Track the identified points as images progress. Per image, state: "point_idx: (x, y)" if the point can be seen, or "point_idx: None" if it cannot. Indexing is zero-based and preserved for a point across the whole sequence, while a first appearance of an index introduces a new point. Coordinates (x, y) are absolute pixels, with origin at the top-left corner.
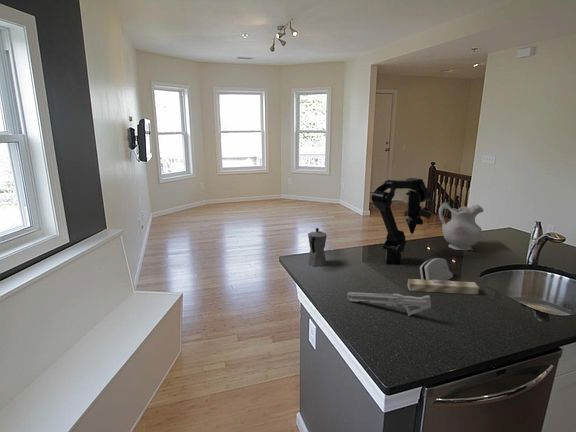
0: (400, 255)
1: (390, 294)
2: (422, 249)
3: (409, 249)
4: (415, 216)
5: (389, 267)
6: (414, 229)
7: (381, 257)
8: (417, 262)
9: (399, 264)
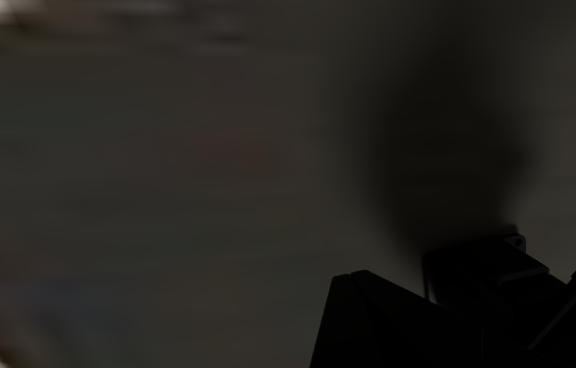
0: (541, 267)
1: None
2: (44, 67)
3: (107, 191)
4: None
5: None
6: (448, 314)
7: None
8: (440, 107)
9: (521, 236)
